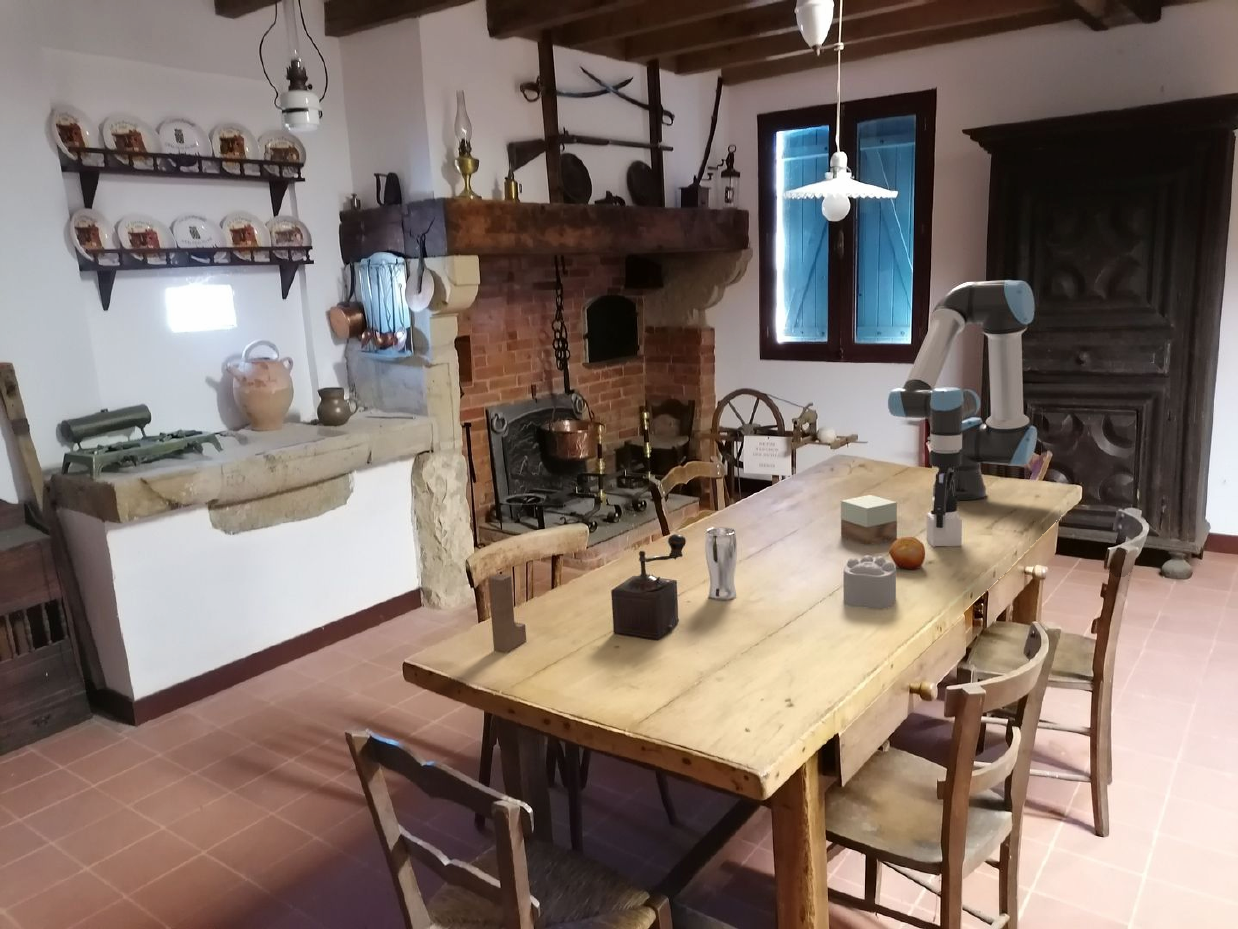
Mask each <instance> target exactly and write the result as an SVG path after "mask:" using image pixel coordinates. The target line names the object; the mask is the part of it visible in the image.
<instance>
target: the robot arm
mask: <svg viewBox="0 0 1238 929" xmlns="http://www.w3.org/2000/svg"><path fill="white" fill-rule="evenodd" d="M1034 316H1035V298H1034V294H1033V290H1032V288H1031V286H1030V285H1029V284H1028V283H1027V282H1026V281H1025V280H1024V281H1023V280H1013V279H1012V280H1011V279H1005V280H1004V279H1003V280H989V281H988V280H986V281H985V280H984V281H967V282H963V283H962V284H959V285H957V286H955V287H954V288H953V289H951V290H950V291H948V292H947V293H946V294H944V296H943V297H942V298H941V299H940V300H939V301H938V302H937V303H936V305H935V306H934V308H933V310H932V312H931V314H930V317H929V323H930V326H929V327H928V330H927V334H926V335H925V337H924V340H923V342H922V343H921V347H920V349H919V352H918V353H917V356H916V359H915V360H914V363H913V365H912V368H911V369H910V372H909V374H908V377H907V379H906V381H905V382H904V385H903V387H902V388H900V387H899V388H894V389H892V390H891V391H890V393H889V394H888V397H887V409H888V412H889V413H890V415H892V416H894V417H898V418H905V419H907V418H910V419H911V418H912V419H929V421H930V423H929V424H930V429H929V433H930V435H929V436H928V437H927V440H928V441H930V443H929V448H930V449H931V450H930V451H929V465H930V466H932V467H933V468H938V471H937V473H936V474H935V480H934V481H935V482H934V484H933V486H932V494H933V495H934V497H933V498H934V509H933V511H932V510H931V511H930V513H931V514H934V540H946V512H945V511H946V503H947V496H952V497H954V498H956V499H957V501H971V500H973V501H974V500H977V499H982V498H985V497H986V496H987V487H986V485H985V483H984V477H983V474H982V471H981V463H982V464H991V465H1003V466H1010V467H1013V466H1014V467H1015V466H1018V467H1019V466H1021V467H1024V466H1026V465H1028V464H1029V463H1030V461H1031V460H1032V457H1033V455H1034V452H1035V449H1036V445H1037V440H1038V431H1037V427H1035V426H1033V425H1030V418H1029V417H1028V416H1027V415H1025V414H1024V392H1023V391H1024V390H1023V388H1024V386H1023V385H1024V384H1023V354H1022V353H1023V350H1022V349H1023V348H1022V346H1023V344H1022V334H1023V333H1024V332H1025V331H1027V329H1028V324H1030V323H1032V322H1033V320H1034ZM970 324H971V325H972V324H973V325H978V324H980V325H981V332H982V334H984V335H985V336H986V337H987V344H988V370H989V371H988V372H989V393H990V416H989V417H987V419H986V420H985V423H983V420H982V418H981V417H974V416H975V415H977V413H978V412H979V411H980V409H981V404H982V403H981V399H980V397H979V395H978V393H976V392H975V391H974V390H971V389H962V388H958V387H952V386H951V387H950V386H949V387H947V386H946V387H945V386H944V387H936V385H937V383H938V380H939V378H940V376H941V374H942V371H943V369H944V366H945V365H946V361H947V360H948V357H949V355H950V353H951V350H952V348H953V345H954V344H955V341H956V338H957V337H958V336H957V335H958V334H960V333H962V331H964V329H965V327H966V325H967V326H968V325H970ZM935 387H936V388H935Z"/></svg>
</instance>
